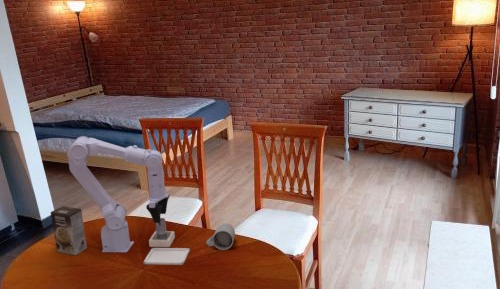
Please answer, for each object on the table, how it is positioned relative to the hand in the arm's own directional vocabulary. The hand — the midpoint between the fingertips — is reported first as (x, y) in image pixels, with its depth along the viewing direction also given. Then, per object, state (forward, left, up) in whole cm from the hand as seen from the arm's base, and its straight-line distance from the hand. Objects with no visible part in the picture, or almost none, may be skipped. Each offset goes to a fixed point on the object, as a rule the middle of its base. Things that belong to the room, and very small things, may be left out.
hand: (160, 217), depth 166 cm
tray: (+5, -11, -10) cm, 16 cm away
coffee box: (-33, -6, -11) cm, 35 cm away
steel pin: (0, 0, -10) cm, 10 cm away
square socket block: (0, 0, -10) cm, 10 cm away
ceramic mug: (+23, -1, -11) cm, 25 cm away
